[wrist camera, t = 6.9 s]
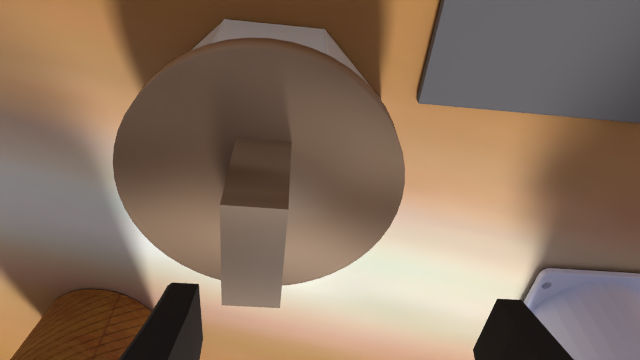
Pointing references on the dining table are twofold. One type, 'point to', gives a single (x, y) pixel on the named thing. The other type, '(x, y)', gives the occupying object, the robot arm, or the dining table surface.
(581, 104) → the mat
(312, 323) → the dining table surface
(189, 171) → the lid
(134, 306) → the disposable coffee cup
